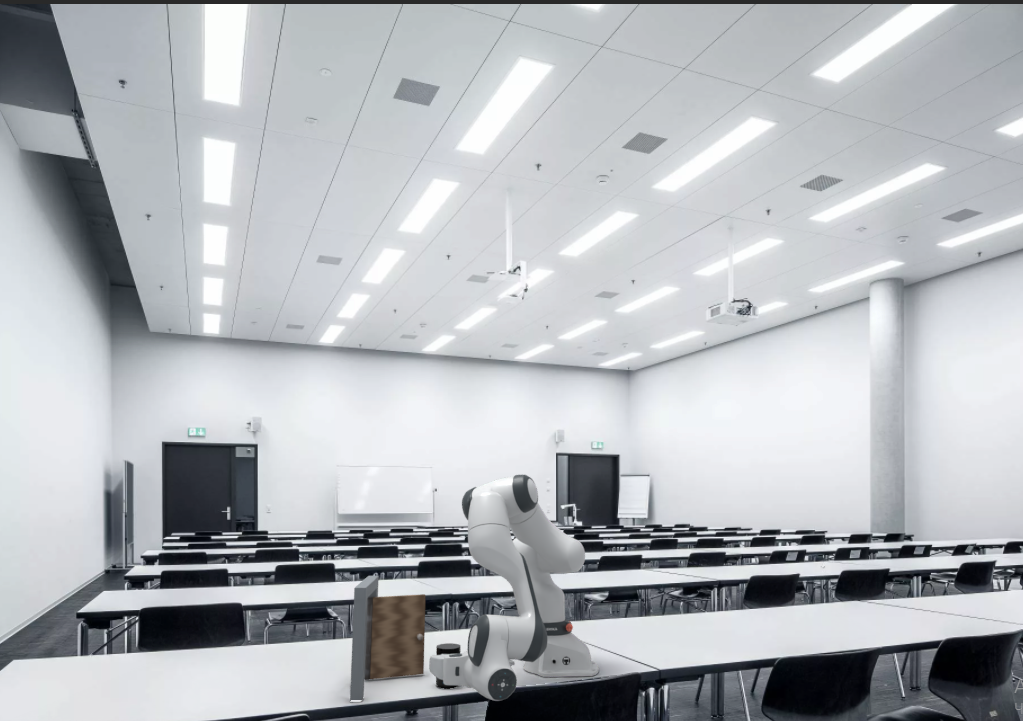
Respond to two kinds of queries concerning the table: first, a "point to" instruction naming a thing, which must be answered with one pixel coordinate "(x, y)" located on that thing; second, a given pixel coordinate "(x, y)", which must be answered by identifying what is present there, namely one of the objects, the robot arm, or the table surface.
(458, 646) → the supplement container
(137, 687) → the table surface
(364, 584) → the door frame
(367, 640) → the door
